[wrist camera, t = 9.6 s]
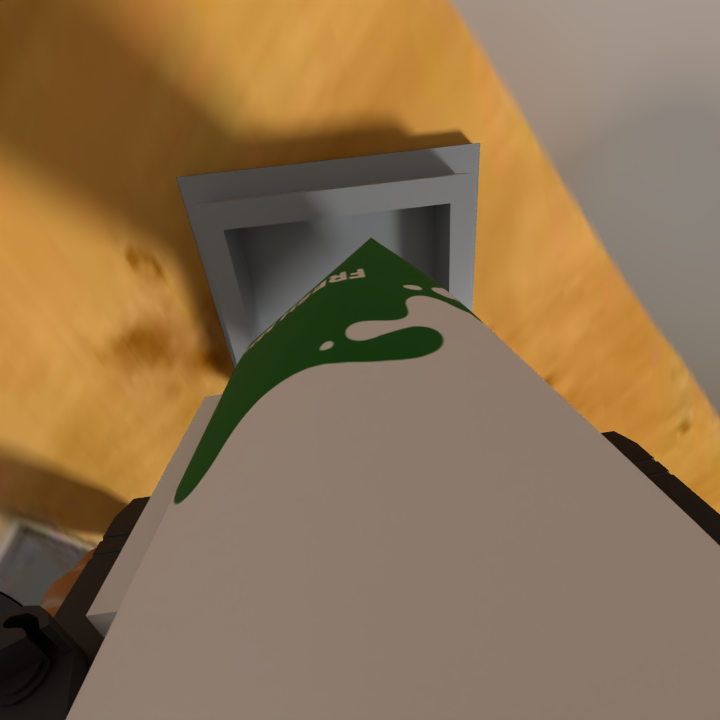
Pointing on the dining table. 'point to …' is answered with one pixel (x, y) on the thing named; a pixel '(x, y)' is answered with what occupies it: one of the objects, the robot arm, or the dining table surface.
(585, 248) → the dining table surface
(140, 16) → the dining table surface
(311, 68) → the dining table surface
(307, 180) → the dock
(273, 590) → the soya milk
